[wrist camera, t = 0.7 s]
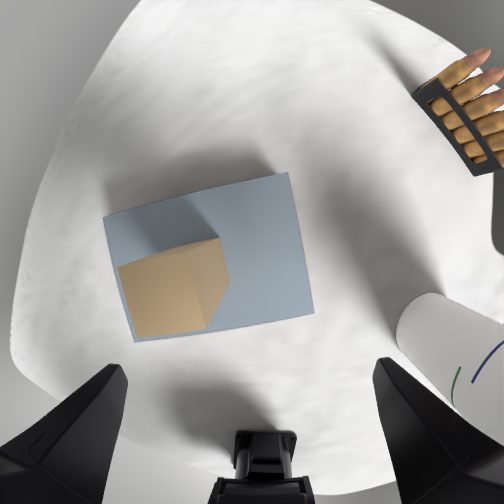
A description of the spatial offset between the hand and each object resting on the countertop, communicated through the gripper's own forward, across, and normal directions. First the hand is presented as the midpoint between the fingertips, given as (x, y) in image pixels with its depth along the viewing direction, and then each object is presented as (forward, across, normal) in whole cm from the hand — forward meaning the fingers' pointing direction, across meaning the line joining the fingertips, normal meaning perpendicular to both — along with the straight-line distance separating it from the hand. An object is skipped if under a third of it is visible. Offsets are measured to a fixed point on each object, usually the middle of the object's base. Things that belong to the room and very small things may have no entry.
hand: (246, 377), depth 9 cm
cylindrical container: (+14, -17, +11) cm, 24 cm away
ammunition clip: (+20, -20, -8) cm, 30 cm away
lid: (+13, +4, +2) cm, 13 cm away
